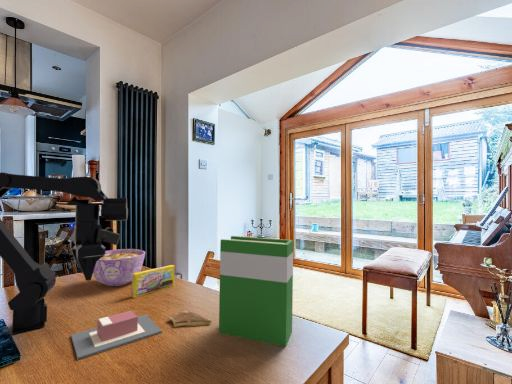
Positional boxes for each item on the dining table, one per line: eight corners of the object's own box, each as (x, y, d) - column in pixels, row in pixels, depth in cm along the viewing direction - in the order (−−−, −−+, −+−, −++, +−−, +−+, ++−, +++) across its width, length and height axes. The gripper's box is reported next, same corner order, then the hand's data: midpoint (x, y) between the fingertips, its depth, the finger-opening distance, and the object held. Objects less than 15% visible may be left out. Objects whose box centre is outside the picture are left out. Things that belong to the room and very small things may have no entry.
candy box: (134, 298, 90) (134, 274, 90) (130, 297, 91) (131, 273, 91) (174, 286, 103) (174, 265, 103) (171, 285, 104) (171, 264, 104)
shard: (211, 326, 72) (211, 319, 72) (188, 337, 66) (188, 330, 67) (187, 314, 79) (187, 308, 79) (164, 324, 73) (165, 317, 73)
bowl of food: (106, 295, 92) (107, 262, 92) (78, 285, 102) (78, 255, 103) (155, 280, 109) (155, 252, 109) (126, 272, 119) (127, 247, 120)
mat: (77, 359, 56) (77, 357, 56) (70, 336, 65) (71, 334, 65) (161, 332, 68) (161, 330, 68) (146, 316, 77) (146, 314, 77)
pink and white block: (137, 330, 67) (137, 316, 67) (102, 341, 62) (102, 326, 62) (131, 323, 71) (131, 309, 71) (97, 333, 66) (97, 318, 66)
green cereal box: (218, 333, 68) (220, 239, 68) (230, 320, 75) (232, 235, 76) (285, 346, 62) (287, 244, 63) (292, 331, 69) (293, 240, 70)
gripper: (126, 222, 73) (125, 279, 73) (111, 217, 87) (110, 265, 87) (78, 224, 66) (77, 287, 66) (70, 219, 80) (68, 270, 80)
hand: (85, 276), depth 75 cm, fingers open, 9 cm apart
